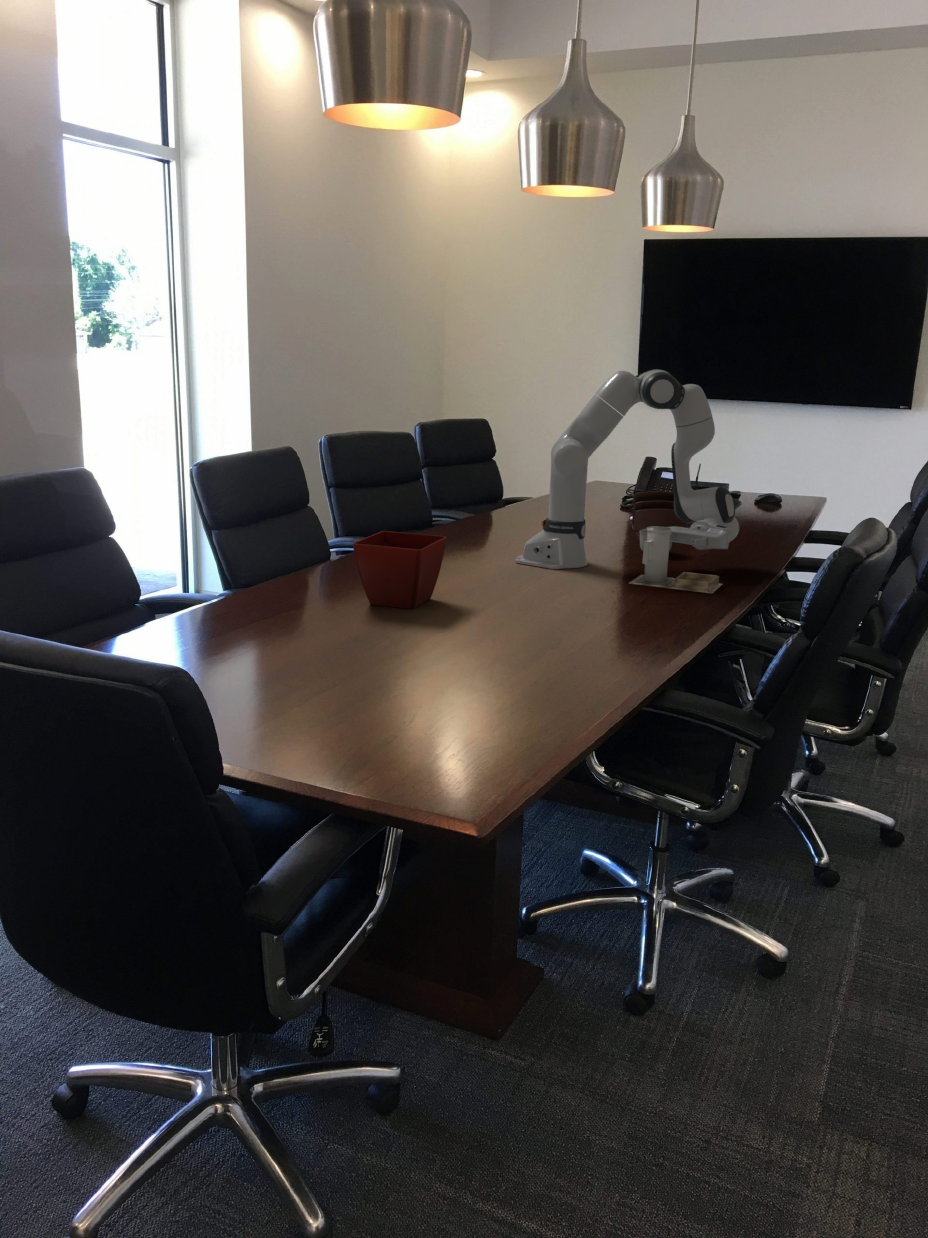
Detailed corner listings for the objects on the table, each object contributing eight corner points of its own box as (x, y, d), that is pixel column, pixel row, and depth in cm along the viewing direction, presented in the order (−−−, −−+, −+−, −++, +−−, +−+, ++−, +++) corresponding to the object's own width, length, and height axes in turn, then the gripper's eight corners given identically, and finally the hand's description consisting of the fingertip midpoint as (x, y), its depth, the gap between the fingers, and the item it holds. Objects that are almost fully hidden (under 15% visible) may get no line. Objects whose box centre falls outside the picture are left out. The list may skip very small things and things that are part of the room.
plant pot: (419, 614, 254) (420, 549, 249) (352, 606, 260) (351, 542, 256) (447, 597, 271) (447, 536, 267) (382, 590, 277) (382, 530, 273)
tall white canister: (651, 576, 293) (655, 525, 289) (671, 580, 289) (675, 528, 285) (633, 581, 286) (636, 529, 282) (653, 585, 282) (657, 532, 278)
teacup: (671, 558, 327) (672, 533, 324) (637, 556, 329) (639, 532, 326) (671, 549, 340) (673, 526, 338) (639, 548, 342) (640, 524, 340)
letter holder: (631, 526, 383) (633, 490, 379) (684, 528, 381) (687, 491, 377) (633, 531, 373) (635, 493, 369) (687, 533, 371) (690, 495, 368)
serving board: (627, 587, 286) (628, 574, 285) (641, 578, 297) (641, 566, 296) (712, 597, 276) (713, 584, 275) (722, 587, 287) (723, 575, 286)
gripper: (674, 520, 310) (649, 525, 300) (734, 528, 296) (710, 534, 286) (673, 540, 311) (648, 546, 301) (732, 549, 298) (709, 556, 288)
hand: (679, 540), depth 294 cm, fingers open, 8 cm apart
